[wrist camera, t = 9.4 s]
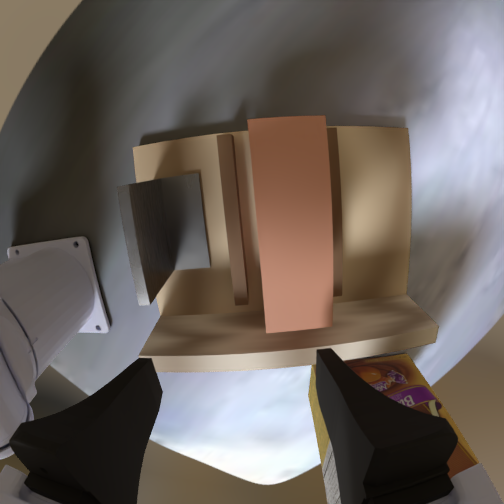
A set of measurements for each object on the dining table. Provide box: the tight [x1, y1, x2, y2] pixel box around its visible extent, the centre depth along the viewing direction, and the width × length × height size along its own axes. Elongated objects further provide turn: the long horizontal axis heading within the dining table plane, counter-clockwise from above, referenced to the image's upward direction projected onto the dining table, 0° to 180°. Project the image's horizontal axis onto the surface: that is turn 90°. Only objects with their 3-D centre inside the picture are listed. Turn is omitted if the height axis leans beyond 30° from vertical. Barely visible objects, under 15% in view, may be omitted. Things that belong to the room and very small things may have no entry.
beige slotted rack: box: [133, 126, 439, 372], centre depth 17 cm, size 18×13×6 cm
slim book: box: [247, 115, 333, 333], centre depth 15 cm, size 3×9×7 cm, turn 5°
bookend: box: [117, 173, 211, 305], centre depth 16 cm, size 3×6×6 cm, turn 5°
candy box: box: [308, 354, 479, 504], centre depth 16 cm, size 9×4×15 cm, turn 90°
